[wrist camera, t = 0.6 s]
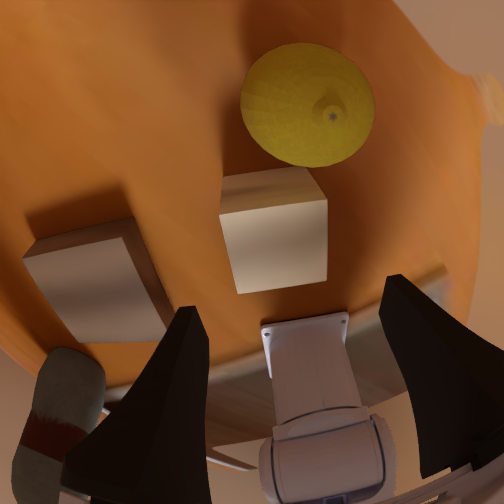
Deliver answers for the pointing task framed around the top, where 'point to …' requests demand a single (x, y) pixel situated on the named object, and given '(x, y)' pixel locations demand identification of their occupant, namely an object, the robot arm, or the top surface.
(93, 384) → the bottle
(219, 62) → the top surface
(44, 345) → the top surface
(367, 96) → the lemon
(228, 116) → the top surface
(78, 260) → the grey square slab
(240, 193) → the maple cube
